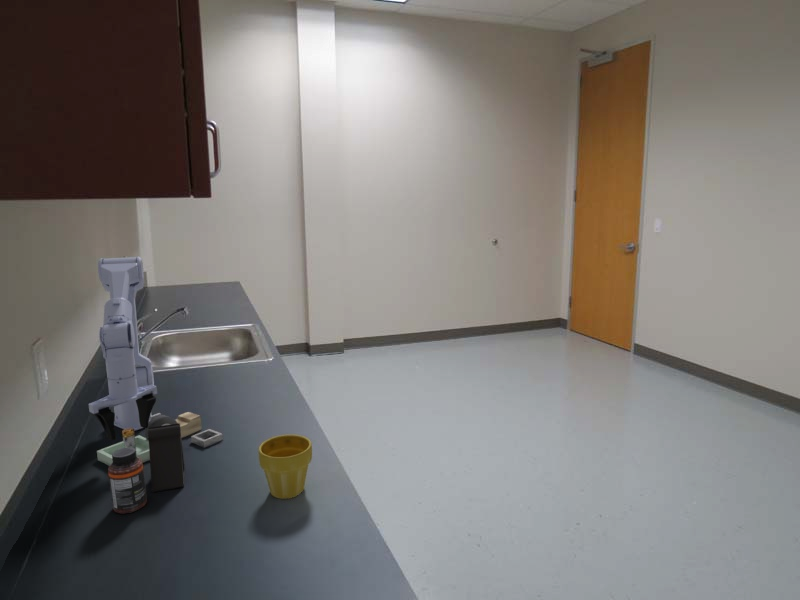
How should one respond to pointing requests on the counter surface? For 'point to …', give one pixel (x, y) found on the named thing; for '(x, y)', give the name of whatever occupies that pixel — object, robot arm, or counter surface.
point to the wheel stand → (159, 422)
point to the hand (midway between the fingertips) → (128, 432)
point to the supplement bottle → (127, 481)
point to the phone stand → (166, 457)
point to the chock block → (189, 423)
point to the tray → (141, 447)
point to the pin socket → (199, 437)
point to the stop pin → (129, 438)
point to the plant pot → (285, 464)
